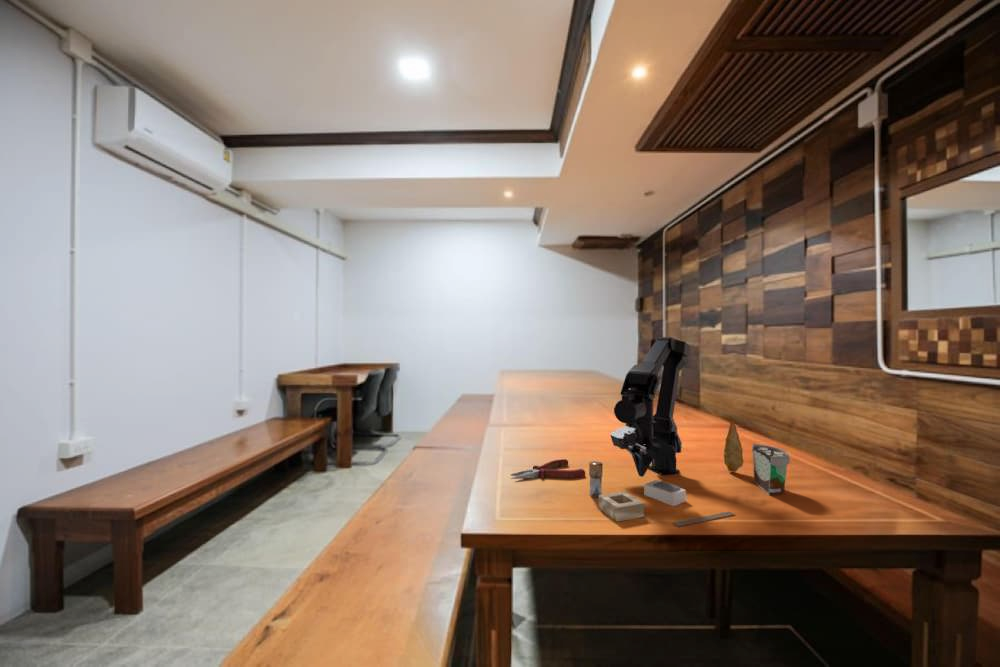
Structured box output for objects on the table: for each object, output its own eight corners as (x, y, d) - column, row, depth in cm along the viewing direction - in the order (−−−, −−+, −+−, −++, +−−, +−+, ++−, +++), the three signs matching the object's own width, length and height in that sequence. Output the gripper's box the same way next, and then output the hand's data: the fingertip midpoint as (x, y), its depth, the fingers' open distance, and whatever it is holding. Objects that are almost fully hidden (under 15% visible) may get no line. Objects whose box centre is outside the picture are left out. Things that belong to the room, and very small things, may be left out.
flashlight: (586, 494, 103) (586, 462, 103) (597, 492, 104) (597, 460, 104) (593, 499, 100) (594, 466, 100) (604, 497, 101) (605, 464, 101)
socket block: (598, 508, 95) (598, 495, 95) (624, 504, 97) (624, 491, 97) (617, 521, 88) (617, 507, 88) (644, 516, 91) (644, 503, 91)
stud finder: (644, 496, 103) (644, 482, 103) (656, 491, 106) (656, 478, 106) (673, 507, 96) (673, 492, 96) (685, 502, 99) (685, 487, 99)
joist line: (672, 523, 87) (672, 522, 87) (729, 512, 93) (729, 511, 93) (678, 526, 86) (678, 525, 86) (734, 515, 92) (734, 514, 92)
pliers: (504, 473, 119) (504, 464, 119) (566, 466, 126) (566, 457, 126) (521, 488, 108) (521, 478, 108) (587, 478, 115) (587, 469, 115)
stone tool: (738, 470, 121) (738, 419, 121) (744, 473, 119) (744, 421, 118) (722, 471, 120) (722, 419, 120) (727, 474, 118) (728, 421, 118)
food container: (799, 499, 100) (800, 458, 100) (771, 497, 101) (772, 457, 101) (776, 481, 112) (777, 444, 112) (751, 479, 114) (752, 443, 113)
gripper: (595, 412, 115) (595, 468, 115) (639, 427, 97) (639, 493, 97) (628, 409, 118) (628, 464, 119) (677, 423, 101) (676, 487, 101)
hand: (641, 476), depth 109 cm, fingers closed
